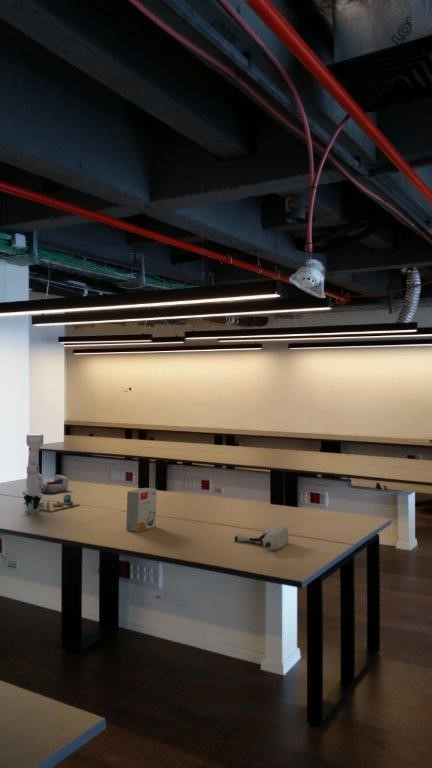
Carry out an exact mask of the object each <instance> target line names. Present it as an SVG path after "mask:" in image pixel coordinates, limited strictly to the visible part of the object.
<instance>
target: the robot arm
mask: <svg viewBox="0 0 432 768" xmlns="http://www.w3.org/2000/svg"><path fill="white" fill-rule="evenodd" d="M25 442H26V446H27V447H29V448H30V454H28V459H27V460H28V462H27V465H26V483H25V484H26V485H25V486H26V489H25V490H24V491H22V496H23V499H24V502H23V504H26V508H27V509H28V503H31V502H33V509H37V508H38V507H39V505H40V504H43V503H44V501H42V498H43V497H44V496H43V495H44V493H42V492H41V488H42V487H43V483H44V476H43V475H42V474H41V473H40V466H39V460H40V459H39V458H40V457H39V454H40V452H39V451H40V449H41V447H43V445H44V434H43V433H41V434H40V433H38V434H34V433H33V434H26V441H25Z"/></svg>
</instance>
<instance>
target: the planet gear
mask: <svg viewBox="0 0 432 768" xmlns="http://www.w3.org/2000/svg"><path fill="white" fill-rule="evenodd" d="M24 511H25V512H24V513H26V514H38V513H40V510H38V509H33V502H31V503H28V508H27V509H25V510H24Z"/></svg>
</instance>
